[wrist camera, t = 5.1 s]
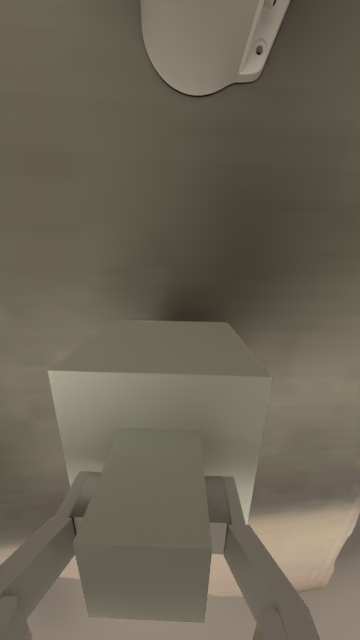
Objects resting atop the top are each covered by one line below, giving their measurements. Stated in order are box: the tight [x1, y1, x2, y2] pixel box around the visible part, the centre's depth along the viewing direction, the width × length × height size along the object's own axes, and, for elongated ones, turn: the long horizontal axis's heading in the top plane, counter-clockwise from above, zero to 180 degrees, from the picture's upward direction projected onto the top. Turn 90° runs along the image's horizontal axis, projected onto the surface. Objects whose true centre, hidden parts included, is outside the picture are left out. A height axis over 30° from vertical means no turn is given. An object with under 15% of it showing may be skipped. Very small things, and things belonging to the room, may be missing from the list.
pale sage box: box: [48, 320, 273, 623], centre depth 12 cm, size 10×10×13 cm
